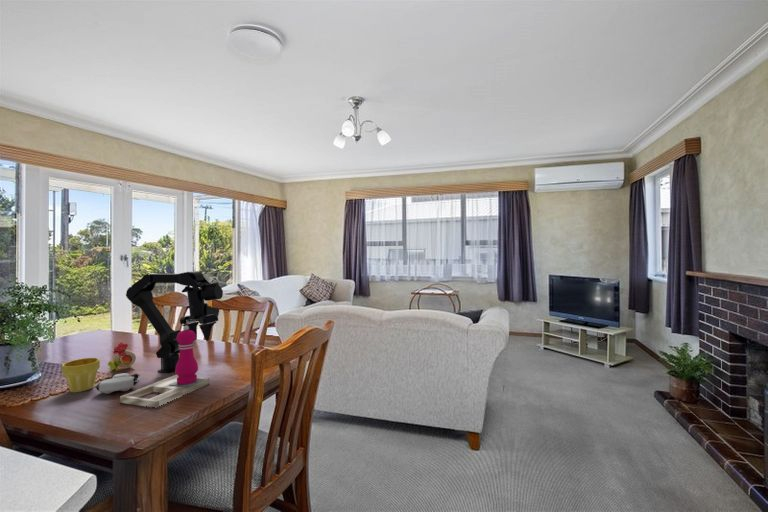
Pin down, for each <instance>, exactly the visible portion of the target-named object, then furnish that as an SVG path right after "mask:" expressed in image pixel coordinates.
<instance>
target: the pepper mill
mask: <svg viewBox="0 0 768 512" xmlns="http://www.w3.org/2000/svg"><path fill="white" fill-rule="evenodd" d="M182 327H183V330H180V331H181V332H179V333H178V335H177V342H178V343H179V345H178V346H179V347H178V348H179V349H180V353H179V360H178V362H177V365H176V368H175V371H174V373H175V375H178V376H179V377H177V384H181V385H184V384H190V383H193V382H195V381H196V380H197V377H198V375H197V372H198V371H199V364H198V361H197V359H196V358H195V354H194V347H195V341H196V340H195V338H196V335H195V332H194V331H192V330H188V329H189V327H188V326H182Z"/></svg>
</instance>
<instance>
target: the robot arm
mask: <svg viewBox="0 0 768 512" xmlns="http://www.w3.org/2000/svg"><path fill="white" fill-rule="evenodd" d="M156 284H179V285H181V286H184V288H183V289H182V290H181V293H186V294H187V301H188V305H186V309H189V315H184V316H181V317H180V318H179V324H180V325H181V326H182V327H184V326H188V327H189V329H188V330H192V331H194V332H195V335H196V338H195V340H194V341H196V340H198V328H197V327H198V326H199V328H200V330H201V333H202V336H203V337H204V339H205V341H210V337H211V334H212V333H211V332H212V328H213V326H214V325H215V324H216V323H217V322H219V314H220V310H221V309H220V308H219V307H213V306H211V305H208V301H214V300H215V301H216V300H221V299H222V298H223V295H224V291H223V289H222V286H221V285H220V284H219V282H213V283H210V282H209V280H208V279H207V278H205V276H204V274H203V273H202V272H201V271H200V270H193V271H186V272H185V271H184V272H180V273H155V272H154V273H153V272H152V273H145V275H143V276H142V277H141V278H140V279H139V280H137V281H136V282H135V283H133V284H132V285H131V286H129V287H128V288H127V289H126V293H125V296H126V297H125V298H127V299H128V300H129V302H130V303H131V304H132V305H135V306H136V307H138V308H140V309H141V311H142V312H143V314H144V316H145V317H146V319H147V320H148V321H149V322H150V324H151V325H152V327H153V329H154V330H155V331H156V333H157V334H158V336H159V345H160V346H161V347H160V348H159V349H158V350H157V351H156V352H155V354H156V355H155V356H156V357H157V358H158V359H160V369H158V370H157V372H160V373H167V374H170V373H174V372H175V368H176V365H177V362H178V360H179V357H180V349H179V348H178V347H179V346H178V345H179V343H178V342H177V335H178V333H179V332H181V331H182V330H180V329H178V330H174V329H173V328H172V327H171V326H170V324H169V323H168V321H167V320H166V318H165V317H164V316H163V314H162V313H161V311H160V310H159V308H158V307H157V305H156V304H155V303H154V299H153V298H154V297H153V296H154V295H153V293H152V292H153V290H155V287H156ZM173 371H174V372H173Z"/></svg>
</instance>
